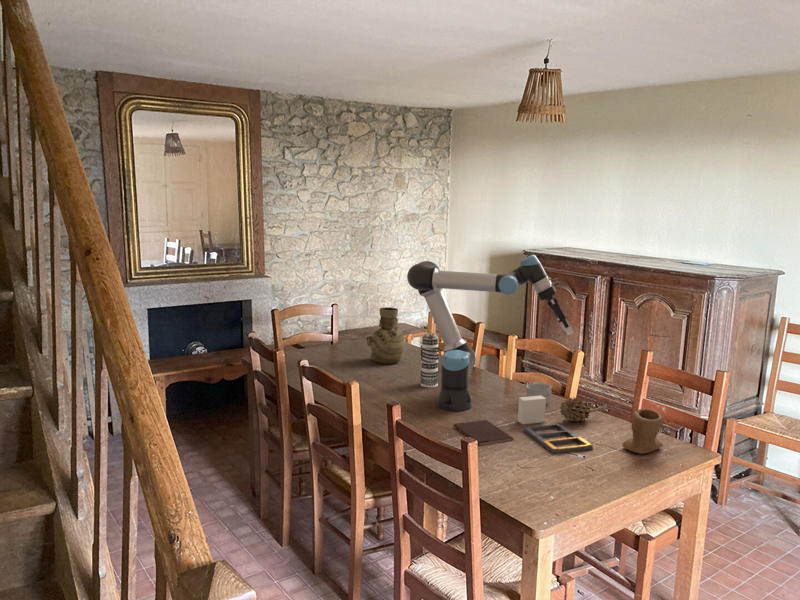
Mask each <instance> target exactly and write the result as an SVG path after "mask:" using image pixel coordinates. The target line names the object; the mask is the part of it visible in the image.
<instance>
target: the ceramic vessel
mask: <svg viewBox="0 0 800 600" xmlns="http://www.w3.org/2000/svg"><path fill="white" fill-rule="evenodd" d="M398 312H399V309H398V308H395V307H389V306H388V307H386V306H385V307H380V308H379V315H380V319H379V324H378V327H380V328H378V329H377V330H376V331H374V332H373V334H372V335H371V336H367V337H366V343H367V344H366V345H367V347H369V348H370V351H371V354H370V360H371V361H372V362H375V363H377V364H380V363H381V365H395V364H397V363H399V362H400V360H401V359H402V357H403V355H404V354H403V353H404V351H405V335H404V331H403V330H402V329H400V328H399V327H398V326H397V324H398V322H399V320H398V314H399V313H398Z"/></svg>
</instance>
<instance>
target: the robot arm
mask: <svg viewBox="0 0 800 600" xmlns="http://www.w3.org/2000/svg"><path fill="white" fill-rule="evenodd" d="M406 277H407V278H406V280H407V282H408V284H409V286H410V287H411V288H413V289H415V290H417V291H418V294H419V296H420V297H424V300H425V302H426V304H427V307H428V308H429V312H430V314H431V316H432V319H433V322H434V324H435V326H436V328H437V331H438V333H439V335H440V338H441V341H442V343H443V345H444V347H443V349H442V350H443V353H442V357H441V362H440V363H441V377H440V378H441V380H440V381H441V386H440V387H441V388H440V391H439V394H438V396H437V399H436V406H437V407H438V408H440V409H442V410H445V411H450V410H451V412H452V411H453V412H459V411H460V412H461V411H467V410H470V409H471V408H472V405H473V404H472V403H473V401H472V398H471V394H470V390H469V374H470V372H471V371H472V370H473V369H474V367H475V365H476V359H477V358H476V353H475V352H474V350H473V349H472V348H471V347H470V346H469V343H468V341H467V339H464V338H462V335H461V332H460V331H459V328H458V325H457V323H456V320H455V318H454V316H453V312H452V311H451V308H450V305H449V304H448V301H447V299H446V297H445V294H444V291H443V290H444V289H446V290H458V291H472V292H473V291H474V292H477V291H478V292H489V293H490V292H491V293H499V294H500V293H501V294H504V295H511V294H514V293H515V292H517V291H518V289H519V288H520V287H521V286H523V285H525V284H527V283H529V282H530V284H531V286H532V287H533V289H534V291H535V293H537V297H538V298H539V300H540V301H545V300H546V301H547V302H546V304H547V305H548V307H549V308H550V310H552V311H553V314H554V316H555V317H556V318H557V321H558V323H559V325H560V326H561V328H562V329H563V331H564V332H566V335H567V336H570V335H572V334H575V332H574V330H573V328H572V326H571V324H570V323H569V321H568V319H567V316H565V314H564V313H563V311H562V309H561V306H560V304H559V303H558V300H557V298H554V297H553V296H554V295H556V294H557V290H556V289H555V286H554V285H553V284H552V281H551V279H552V278H551V276H550V277H549V276H548V274H547V273H546V271H545V268H543V265H542V263H541V261H540V260H539V259H538V257H537V256H536V255H535V254H530V255H529V256H526V257H525V258H523V259H521V260H520V261H519V266H518V267H517V268H515V269H513V270H512V271H509V272H507V273H506V274H497V273H483V272H481V273H480V272H466V271H465V272H464V271H450V270H441V269H440V267H439V265H437V264H436V263H435V262H433V261H431V260H430V261H429V260H425V261H420V262H419V263H416V264H413V265H412V266H411V267H410V268H409V269H408V271H407V275H406Z"/></svg>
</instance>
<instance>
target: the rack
mask: <svg viewBox="0 0 800 600" xmlns="http://www.w3.org/2000/svg"><path fill="white" fill-rule="evenodd" d="M552 429H557V430H558V431H551V432H550V431H549V432H543V433H540V432H539V433H537V432H536V431H543V430H544V431H545V430H552ZM522 430H523V432H524V433H526V434H527V435H528V436H529V437H531V438H532V440H534V441H536V442H537V443H538V444H539V445H541V446H542V447H543V448H545V449H546V450H547V451H548V452H550V453H551V454H552V455H557V454H558V453H559V454H567V453H575V452H576V453H577V452H583V451H592V450H594V449H593V448H594V445H593V444H592V443H590V442H589V441H587V440H586V439H585V438H583V437H582V436H580V435H578V434H576V433H575V432H573V431H572V430H570V429H569V428H568V427H566V426H564V424H561V423H554V424H543V425H534V426H523V429H522ZM561 436H567V437H564V438H555V439H547V440H546V438H552V437H553V438H554V437H561ZM573 443H577V444H579V445H571V446H562V447H561V446H560V447H557V445H564V444H565V445H567V444H573Z"/></svg>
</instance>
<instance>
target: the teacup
mask: <svg viewBox="0 0 800 600" xmlns="http://www.w3.org/2000/svg"><path fill="white" fill-rule="evenodd" d="M525 388H526V397H529V396H543V397H544V398H546V405H547V404H548V403H549V402H551V399H552V388H553V387H552V385H550V384H548V383H543V382H538V381H534V382H532V383H528V384H527V385H526V387H525Z"/></svg>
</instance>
